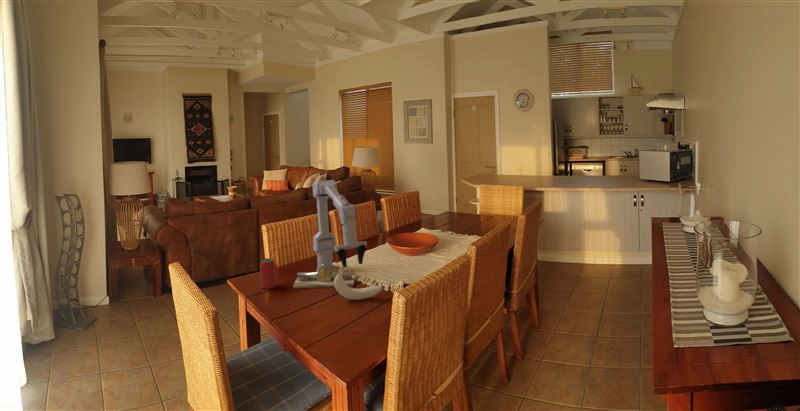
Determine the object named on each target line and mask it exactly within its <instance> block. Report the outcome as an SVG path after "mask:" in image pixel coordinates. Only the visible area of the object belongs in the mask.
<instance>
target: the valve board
mask: <svg viewBox="0 0 800 411" xmlns="http://www.w3.org/2000/svg"><path fill="white" fill-rule="evenodd" d="M334 279H335V278H333V280H331V281H321V282H318V280H317V279H310V280H309V281H304V279H297V278H295V281H294V283H293V285H292V289H316V288H318V289H321V288H322V289H323V288H324V289H325V288H335V286H334ZM355 280H356V273H352V278H348V279H347V280H344V282H345V283H346V285H347V286H349V287H351V288H354V285H355Z"/></svg>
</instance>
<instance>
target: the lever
mask: <svg viewBox="0 0 800 411" xmlns="http://www.w3.org/2000/svg"><path fill="white" fill-rule="evenodd" d="M326 267H327V264H326V263H324V264H322V267H321V269H320V270H319V272H318V273H319V276H324V273H325V269H326Z"/></svg>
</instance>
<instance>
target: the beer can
mask: <svg viewBox="0 0 800 411" xmlns="http://www.w3.org/2000/svg"><path fill="white" fill-rule="evenodd" d="M276 269H277V268H276V263H275V260H274V258H262V259H261V260H260V262H259V273H260V274H259V275H260V278H259V279H260V285H261V286H260V287H261V288H262V289H264V290H265V289H267V290H270V289H273V288H275V287H276V286H277V284H278V283H277V270H276Z"/></svg>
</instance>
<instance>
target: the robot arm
mask: <svg viewBox="0 0 800 411" xmlns="http://www.w3.org/2000/svg"><path fill="white" fill-rule="evenodd" d="M337 184H338V183H337V182H336V181H335V179H330V180H328V179H327V180H318V181H317V180H315V181H314V182H313V184H312V196H313V198H314V199H316V209H317V211H316V212H317V223H318V224H317V225H318V232H317V233H316V234H314V236H313V239H312V240H313V241H312V248H313V251H314V252H315V253H316V255H317V257H316V258H317V260H316V261H317V269H316V271H315V272H317V271H318V268H319V267H322V264H324V263H326V264H327V267H332V271H333V272H334V268H335V266H336V265H335V264H333V252H335V253H336V255H337V256H338V257H339V259H340V262H341V265H342V267H343V268H347V266H348V264H347V254H348V253H347V251H346V250H351V249H355V250H356V253H357V261H358V262H357V263H358V264H359V265H363V260H364V256H365V253H366V251H367V246H368V242H367V241H365V240H364V241H358V236H357V235H358V233H357V225H356V224H357V223H356V222H357V221H356V219H357V216H358V209H357V207H356V205H355V204H352V203H349V201H348V200H347V199H346V197H345V195H342V194H340V193H339V191H338V185H337ZM329 198H330V199H331V200H332V205H333V206H334V207H335V208H336V210H337V211H338V217H339V219H340V224H341V225H342V236H343V237H342V239H343V244H341V245H340V244H339V245H337V242H336V238H335V235H334V234H333V233H332V232H331V231H330V226H329V224H330V223H329V210H328V209H329V208H328V207H329V206H328V200H329Z"/></svg>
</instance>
